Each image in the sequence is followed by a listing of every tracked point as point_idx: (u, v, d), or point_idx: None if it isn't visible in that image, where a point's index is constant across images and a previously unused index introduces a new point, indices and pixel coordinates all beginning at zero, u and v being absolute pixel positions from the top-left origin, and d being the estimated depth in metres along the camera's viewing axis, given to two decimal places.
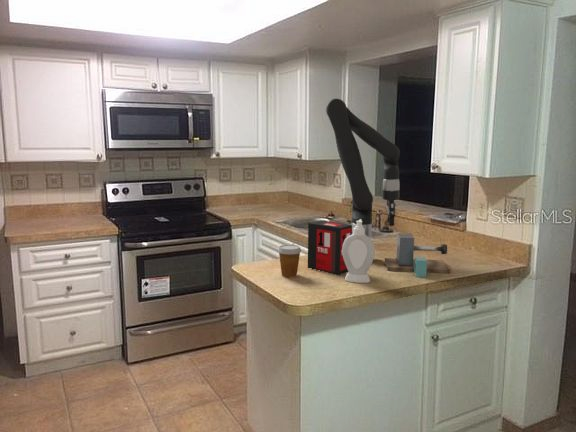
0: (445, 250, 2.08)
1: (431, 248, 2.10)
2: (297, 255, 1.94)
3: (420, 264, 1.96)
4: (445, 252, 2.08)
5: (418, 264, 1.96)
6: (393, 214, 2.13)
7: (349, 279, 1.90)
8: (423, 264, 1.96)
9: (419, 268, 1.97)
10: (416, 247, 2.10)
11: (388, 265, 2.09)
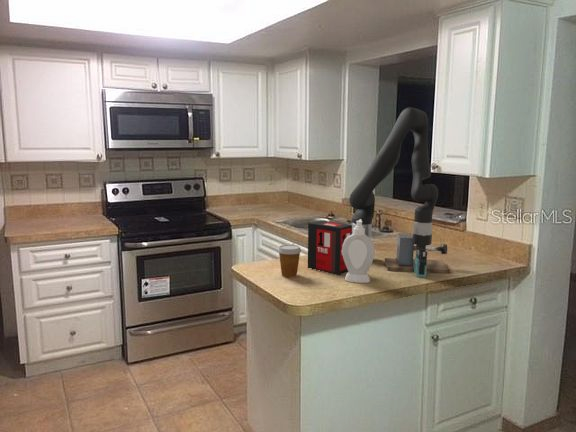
0: (445, 250, 2.08)
1: (431, 248, 2.10)
2: (297, 255, 1.94)
3: None
4: (445, 252, 2.08)
5: (418, 264, 1.96)
6: (424, 262, 1.93)
7: (349, 279, 1.90)
8: None
9: None
10: None
11: (388, 265, 2.09)
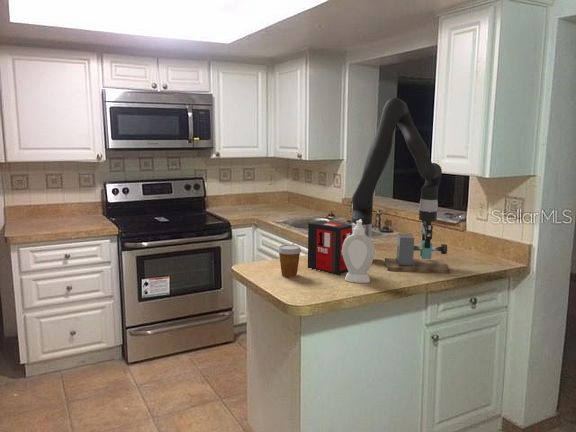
0: (445, 250, 2.08)
1: None
2: (297, 255, 1.94)
3: None
4: (445, 252, 2.08)
5: (424, 246, 2.08)
6: (430, 236, 2.03)
7: (349, 279, 1.90)
8: None
9: (425, 250, 2.08)
10: (416, 247, 2.10)
11: (388, 265, 2.09)
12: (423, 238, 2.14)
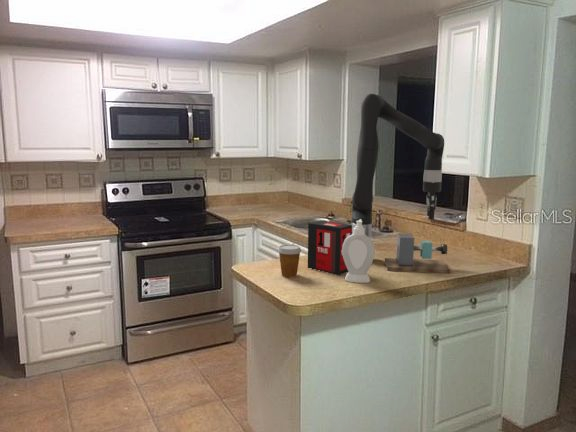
0: (445, 250, 2.08)
1: None
2: (297, 255, 1.94)
3: (426, 246, 2.08)
4: (445, 252, 2.08)
5: (424, 246, 2.08)
6: (433, 207, 2.01)
7: (349, 279, 1.90)
8: (428, 246, 2.08)
9: (425, 250, 2.08)
10: (416, 247, 2.10)
11: (388, 265, 2.09)
12: (428, 210, 2.12)
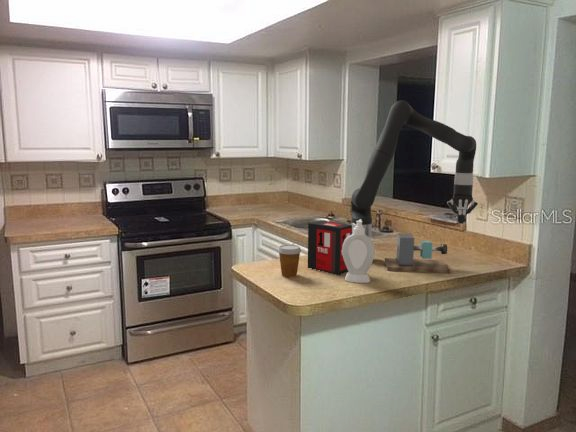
0: (445, 250, 2.08)
1: None
2: (297, 255, 1.94)
3: (426, 246, 2.08)
4: (445, 252, 2.08)
5: (424, 246, 2.08)
6: None
7: (349, 279, 1.90)
8: (428, 246, 2.08)
9: (425, 250, 2.08)
10: (416, 247, 2.10)
11: (388, 265, 2.09)
12: None
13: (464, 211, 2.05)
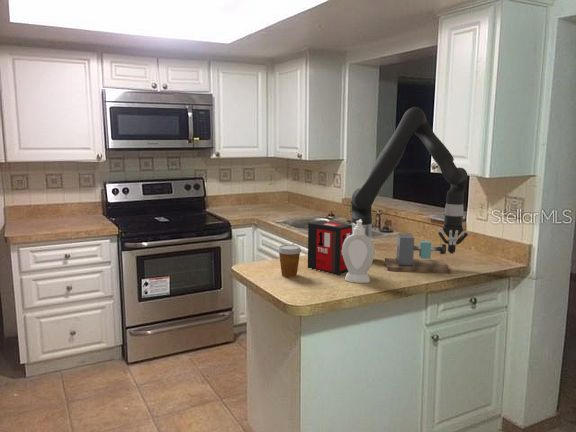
0: (444, 250, 2.08)
1: None
2: (297, 255, 1.94)
3: (425, 246, 2.08)
4: (444, 252, 2.08)
5: (423, 246, 2.08)
6: None
7: (349, 279, 1.90)
8: (427, 246, 2.08)
9: (424, 250, 2.08)
10: (415, 247, 2.10)
11: (388, 265, 2.09)
12: None
13: (454, 241, 2.08)
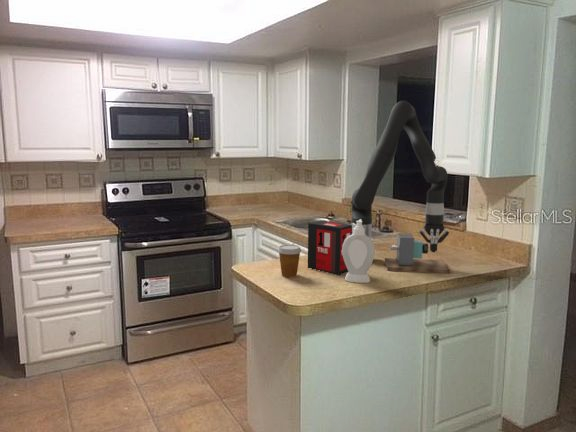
0: (426, 249, 2.09)
1: None
2: (297, 255, 1.94)
3: (416, 246, 2.08)
4: (426, 251, 2.09)
5: (414, 246, 2.09)
6: None
7: (349, 279, 1.90)
8: (419, 246, 2.08)
9: (415, 249, 2.09)
10: (397, 246, 2.11)
11: (388, 265, 2.09)
12: None
13: (436, 240, 2.08)
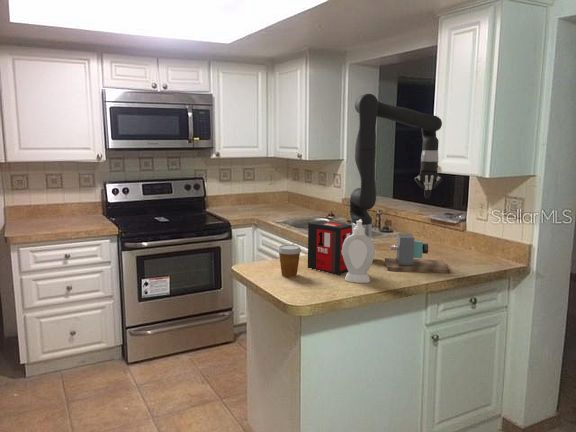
0: (426, 249, 2.09)
1: None
2: (297, 255, 1.94)
3: (416, 245, 2.08)
4: (426, 251, 2.09)
5: (414, 245, 2.09)
6: None
7: (349, 279, 1.90)
8: (419, 245, 2.08)
9: (415, 249, 2.09)
10: (397, 246, 2.11)
11: (388, 265, 2.09)
12: None
13: (430, 186, 2.21)
